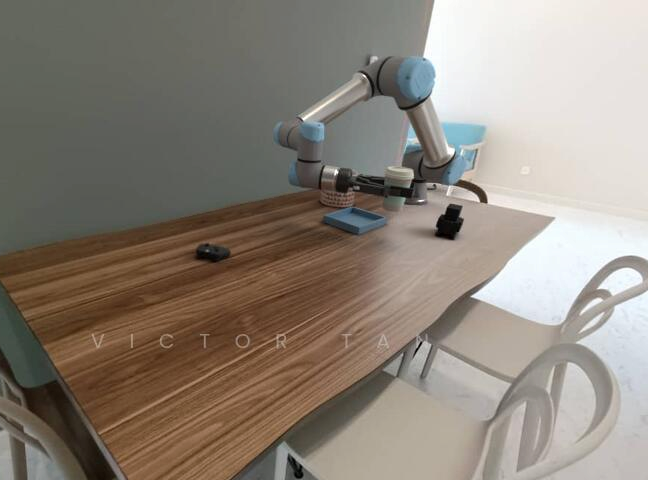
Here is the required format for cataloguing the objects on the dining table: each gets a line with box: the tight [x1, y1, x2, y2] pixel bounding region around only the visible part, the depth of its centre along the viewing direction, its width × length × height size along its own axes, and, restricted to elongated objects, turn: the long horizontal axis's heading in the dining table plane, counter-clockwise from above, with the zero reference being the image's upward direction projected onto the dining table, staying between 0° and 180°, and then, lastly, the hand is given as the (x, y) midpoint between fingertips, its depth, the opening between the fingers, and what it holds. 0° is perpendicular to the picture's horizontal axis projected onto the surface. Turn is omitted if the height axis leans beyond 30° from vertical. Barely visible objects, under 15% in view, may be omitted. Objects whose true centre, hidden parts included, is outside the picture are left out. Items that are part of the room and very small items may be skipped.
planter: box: [319, 167, 359, 209], centre depth 159 cm, size 14×14×13 cm
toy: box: [435, 203, 465, 241], centre depth 137 cm, size 8×14×10 cm, turn 149°
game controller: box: [195, 242, 232, 262], centre depth 110 cm, size 10×5×6 cm
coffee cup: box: [382, 165, 414, 213], centre depth 118 cm, size 8×8×12 cm
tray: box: [322, 205, 388, 236], centre depth 142 cm, size 18×16×3 cm
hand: (412, 190), depth 117 cm, fingers closed on coffee cup, 8 cm apart
